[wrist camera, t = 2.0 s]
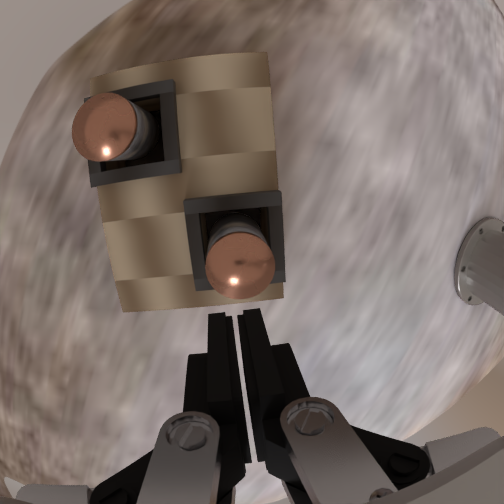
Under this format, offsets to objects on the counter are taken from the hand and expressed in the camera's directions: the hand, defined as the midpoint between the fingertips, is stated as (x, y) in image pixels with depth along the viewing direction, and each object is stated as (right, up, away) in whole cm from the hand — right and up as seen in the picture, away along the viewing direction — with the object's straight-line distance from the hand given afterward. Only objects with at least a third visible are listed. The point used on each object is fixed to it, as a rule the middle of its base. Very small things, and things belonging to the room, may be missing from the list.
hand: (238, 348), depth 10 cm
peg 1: (-8, +12, +11) cm, 18 cm away
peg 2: (-1, +4, +14) cm, 15 cm away
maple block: (-5, +10, +17) cm, 20 cm away
